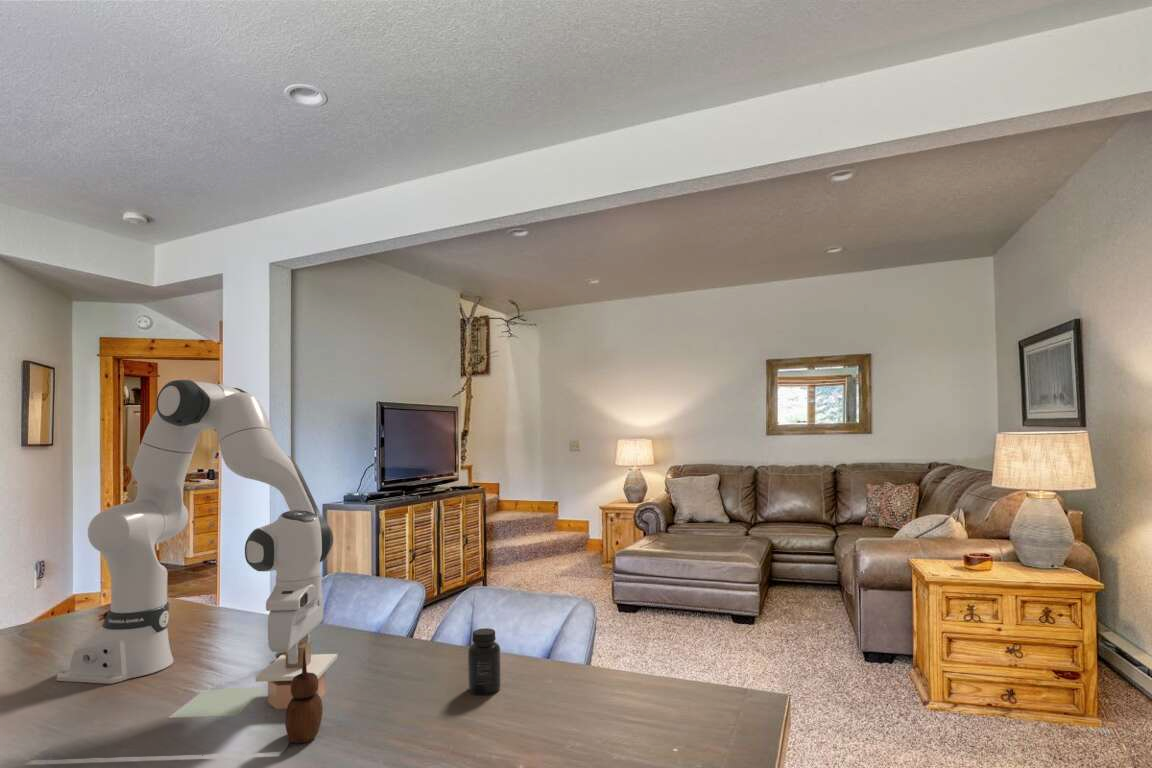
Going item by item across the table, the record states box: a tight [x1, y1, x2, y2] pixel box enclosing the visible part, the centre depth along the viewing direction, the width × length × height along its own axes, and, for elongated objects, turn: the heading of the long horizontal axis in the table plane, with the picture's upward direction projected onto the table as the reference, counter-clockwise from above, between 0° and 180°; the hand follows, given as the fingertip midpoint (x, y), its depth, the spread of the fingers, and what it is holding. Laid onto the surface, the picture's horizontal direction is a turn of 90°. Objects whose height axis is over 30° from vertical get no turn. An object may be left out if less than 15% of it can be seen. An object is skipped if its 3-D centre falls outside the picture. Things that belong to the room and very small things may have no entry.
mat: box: [168, 687, 267, 719], centre depth 131 cm, size 13×13×1 cm
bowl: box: [267, 670, 327, 710], centre depth 132 cm, size 10×10×5 cm
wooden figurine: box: [284, 650, 324, 744], centre depth 117 cm, size 7×6×15 cm
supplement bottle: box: [467, 628, 502, 696], centre depth 137 cm, size 7×7×12 cm
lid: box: [254, 642, 338, 683], centre depth 133 cm, size 12×12×5 cm
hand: (298, 658), depth 133 cm, fingers closed on lid, 3 cm apart
